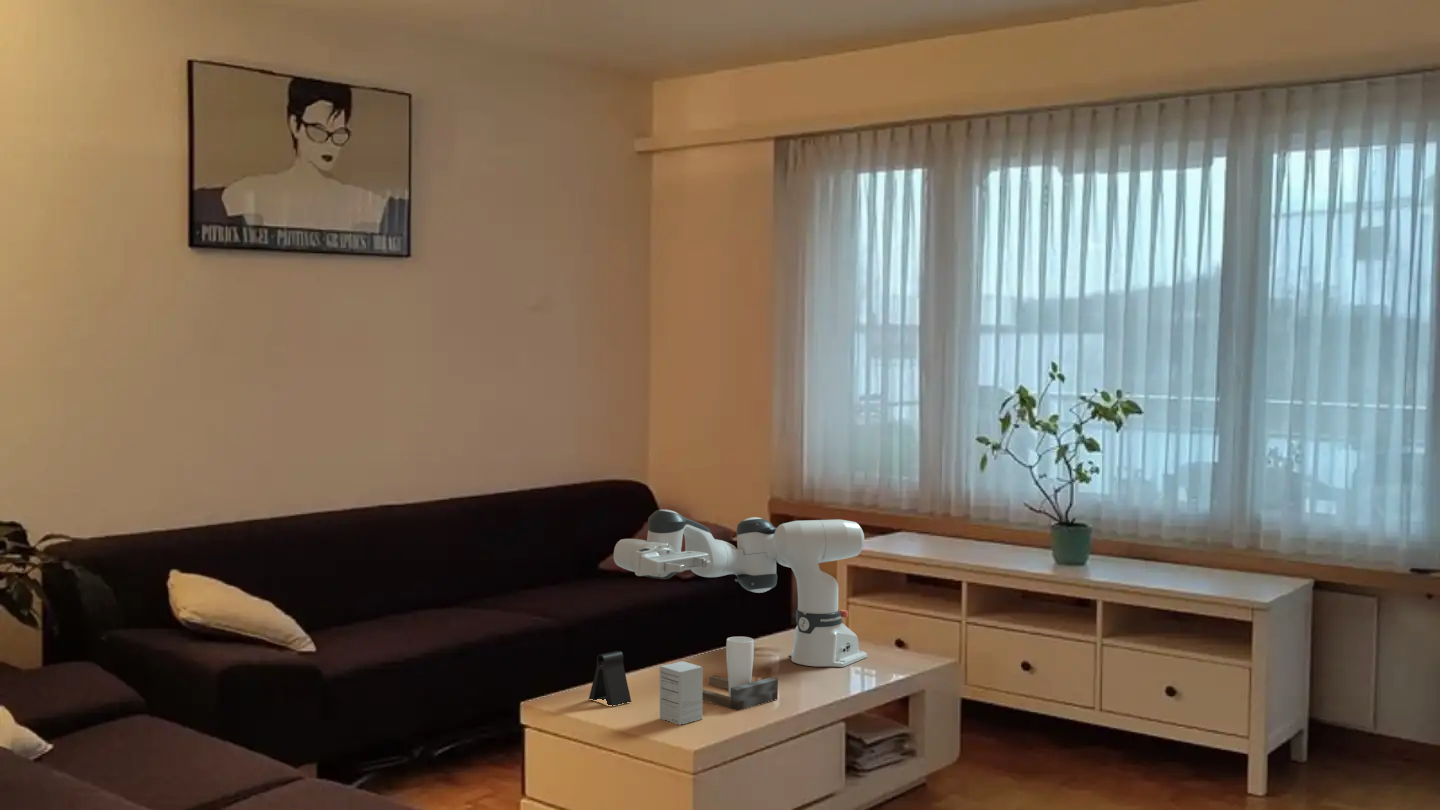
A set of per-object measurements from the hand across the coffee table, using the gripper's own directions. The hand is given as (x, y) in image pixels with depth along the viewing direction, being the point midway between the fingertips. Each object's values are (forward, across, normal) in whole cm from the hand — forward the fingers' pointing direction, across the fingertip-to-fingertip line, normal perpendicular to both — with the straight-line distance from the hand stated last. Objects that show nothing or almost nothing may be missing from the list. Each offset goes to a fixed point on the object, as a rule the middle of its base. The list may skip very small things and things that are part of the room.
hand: (695, 566), depth 348 cm
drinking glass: (+20, +4, -30) cm, 36 cm away
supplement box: (+22, +26, -30) cm, 46 cm away
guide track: (+15, +4, -30) cm, 34 cm away
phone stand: (-1, +28, -30) cm, 41 cm away
